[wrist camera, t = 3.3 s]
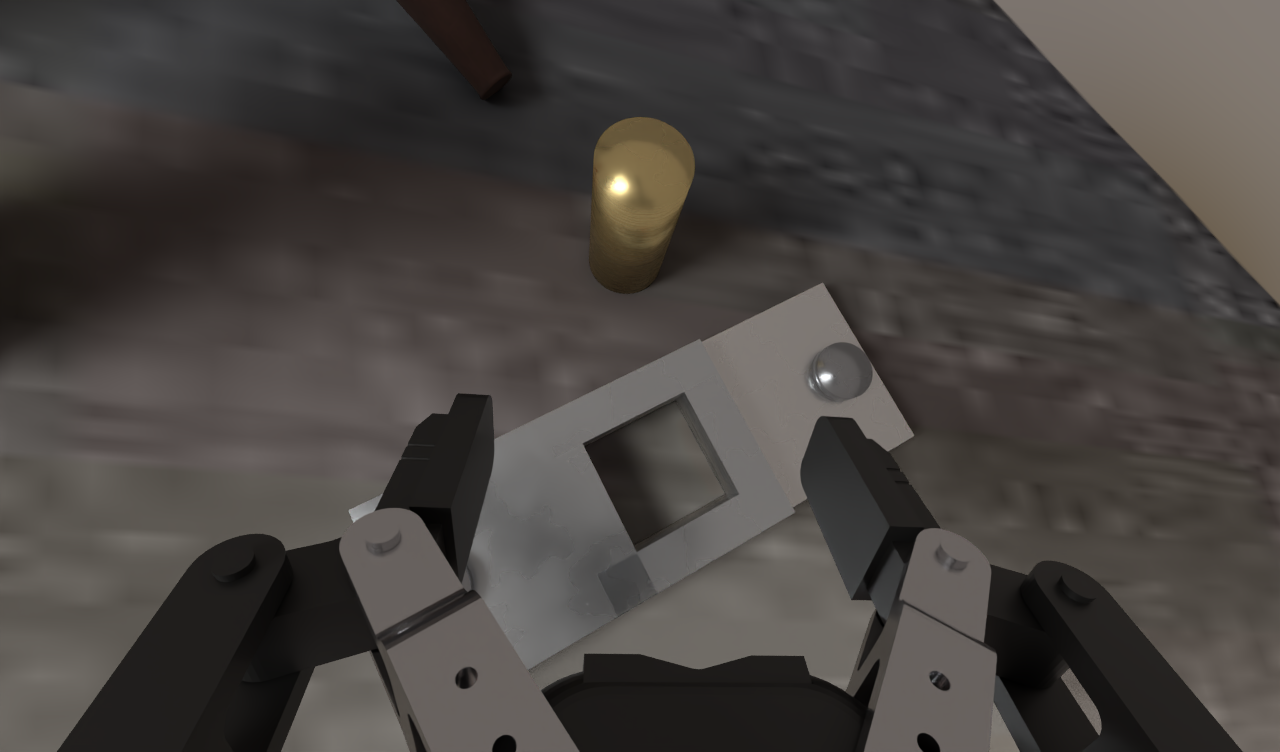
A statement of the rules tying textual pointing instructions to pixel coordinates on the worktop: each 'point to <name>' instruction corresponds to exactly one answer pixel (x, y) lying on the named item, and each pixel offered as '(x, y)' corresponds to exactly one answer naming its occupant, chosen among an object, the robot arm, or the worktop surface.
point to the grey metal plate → (730, 439)
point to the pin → (636, 200)
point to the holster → (461, 41)
